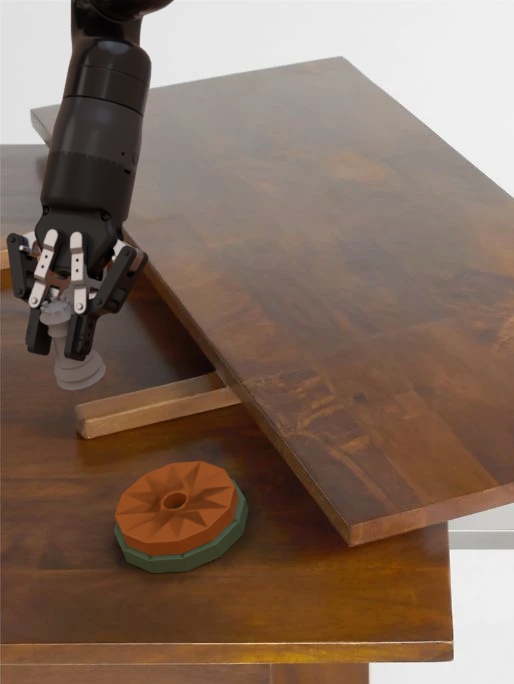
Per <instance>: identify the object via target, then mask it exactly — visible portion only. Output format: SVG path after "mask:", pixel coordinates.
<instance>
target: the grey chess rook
mask: <svg viewBox="0 0 514 684" xmlns="http://www.w3.org/2000/svg"><path fill="white" fill-rule="evenodd" d="M50 299H51V302H52V303H50V304H48V302H47V301H44V302H43V303H42V306H43V307H40V308H41V311H42V313H41V315H40V317H39V318H40V321H41V322H42V323H44V324H46V325H47V326H48V327H49V329H48V335H50V336H51V337H52V342H53V344H54V349H55V356H56V357H55V359H54V362H55V364H54V366H53V373H54V377H55V378H56V384H57V386H58V387H59V388H61V389H63V390H65V391H66V392H70V393H81V392H84V391H87V390H90V389H92V388H94V387H95V386H97V385H99V383H101V382H102V380H103V378H104V376H105V373H106V371H107V367H106V364H105V363H104V362H103V358H102V356H101V355H100V353H99V352H97V351H96V350H94V348H93V347H92V349H91V351H90V353H89V355H86V358H85V360H84V361H76V360H72V359H68V358H65V356H64V349H65V344H66V338H67V333H68V328H69V323H70V317H71V314H73V315H76V312H75V310H74V302H71V301H70V298H67V296H66V295H61V297H60V300H59V301H57V298H56V296H55V297H52V298H50Z"/></svg>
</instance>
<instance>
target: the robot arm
mask: <svg viewBox="0 0 514 684" xmlns="http://www.w3.org/2000/svg"><path fill="white" fill-rule="evenodd" d="M174 1H175V0H70V39H71V54H70V59H69V64H68V67H67V72H66V78H65V83H64V88H63V94H62V98H61V99H62V100H61V103H60V105H59V106H60V107H59V109H58V113H57V115H56V119H55V121H54V125H53V129H52V134H51V138H50V144H49V145H50V146H49V149H48V155H47V160H46V166H45V170H44V175H43V180H42V181H43V182H42V185H41V191H40V196H39V198H40V199H39V201H40V204H41V207H42V211H41V216H40V218H39V219H38V221H37V222H36V224H35V227H34V230H32V231H28V232H26V233H24V234H18V233H15V232H11V233H9V234H7V237H6V246H7V255H8V262H9V263H8V264H9V270H10V278H11V283H12V291H13V293H12V294H13V296H14V298H16V299H19V300H21V301H23V302H24V303H26V304H28V306H29V309H30V312H29V316H28V322H27V327H26V333H25V338H24V339H25V340H24V341H25V345H26V346H27V347H26V349H27V352H28V353H30V354H34V355H38V356H46V357H47V356H48V355H50V352H51V348H52V342H53V338H52V337H51V336H50V335H48V329H49V327H48V326H47V325H46V324H44V323H42V322H41V321H40V318H39V317H40V315H41V313H42V311H41V308H40V307H43V306H42V303H43V302H44V301H47V302H48V304H50V303H52V302H51V299H50V298H52V297H55V296H56V298H57V301H59V300H61V299H60V297H61V296H63V292H64V291H65V290H67V289H69V286H70V284H71V286H72V287H73V289H74V294H73V304H74V310H75V312H76V314H75V315H73V314H71V317H70V323H69V328H68V333H67V338H66V344H65V349H64V356H65V358H68V359H72V360H76V361H84V360H85V358H86V355H89V353H90V351H91V349H92V348H93V343H94V338H95V334H96V333H95V332H96V327H97V323H98V321H99V319H100V318H102V316H105V315H109V314H112V315H117V314H119V313H120V311H121V310H122V308H123V306H124V304H125V302H126V300H127V299H128V297H129V296H130V293H131V292H132V290H133V288H134V286H135V284H136V283H137V281H138V280H139V278H140V276H141V273H142V272H143V270H144V268H145V267H146V265H147V263H148V261H149V255H148V253H147V252H146V251H144V250H141V249H139V248H137V247H134V246H132V245H131V244H129V243H127V242H126V241H125V234H124V229H123V225H124V223H125V222H126V221H127V219H128V218H129V214H130V208H131V203H132V198H133V193H134V187H135V182H136V178H137V171H138V166H139V160H140V155H141V150H142V143H143V128H144V127H143V125H144V118H145V112H146V108H147V102H148V97H149V92H150V87H151V79H152V70H153V69H152V67H153V66H152V65H153V64H152V60H151V58H150V55H149V54H148V52H147V51H146V50H145V49H144V48H143V47H141V33H142V23H143V20H144V17H146V16H147V15H150V14H153V13H156V12H158V11H160V10H163V9H165V8H167V7H168V6H169V5H170V4H172V3H173V2H174ZM38 257H39V259H38ZM111 261H112V264H111V267H110V268H109V270H108V265H109V264H110V262H111ZM52 273H55V275H52Z"/></svg>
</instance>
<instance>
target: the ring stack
mask: <svg viewBox="0 0 514 684" xmlns="http://www.w3.org/2000/svg"><path fill="white" fill-rule="evenodd" d="M249 512H250V509H249V505H248V501H247V499H246V497H245V496H244V494H243V492H242V491H241V489H240V487H239V486H238V484H237V483H236V480H235V479H234V478H231V477H230V476H229V474H228V472H227V471H226V469H225V468H221V467H219V466H217V465H215V464H211V463H209V462H206V461H202V460H198V461H197V460H196V461H185V462H183V461H182V462H172V463H169V464H167V465H164V466H162V467H160V468H157V469H154V470H153V471H150V472H147V473H145V474H143V475H141V477H140V478H138V479H137V480H136V481H135V482H134V483H133V484H132V485H131V486H129V487H128V488H127V489H126V490H125V491H123V493H121V496H120V499H119V502H118V503H117V508H116V510H115V513H114V518H115V521H116V522H115V524H114V528H112V529H113V530H112V531H113V533H114V536H115V538H116V541H117V543H118V545H119V547H120V550H121V551H122V553H123V556H124V558H125V562H127V563H128V564H130V565H133V566H135V567H137V568H139V569H142V570H144V571H147V572H149V573H151V574H163V573H164V574H165V573H166V574H167V573H182V572H190V571H192V570H194V569H196V568H199V567H200V566H203V565H205V564H207V563H210V562H213V561H214V560H218V559H220V558H221V557H222V556H223V555H224V554H225V553H226V552H227V551H228V550H229V549H230V548H231V547H232V546H233V545H234V544H235V543H236V542H237V541H238V540H239V539H240V538H241V537H242V536H244V531H245V528H246V523H247V519H248V515H249Z"/></svg>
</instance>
